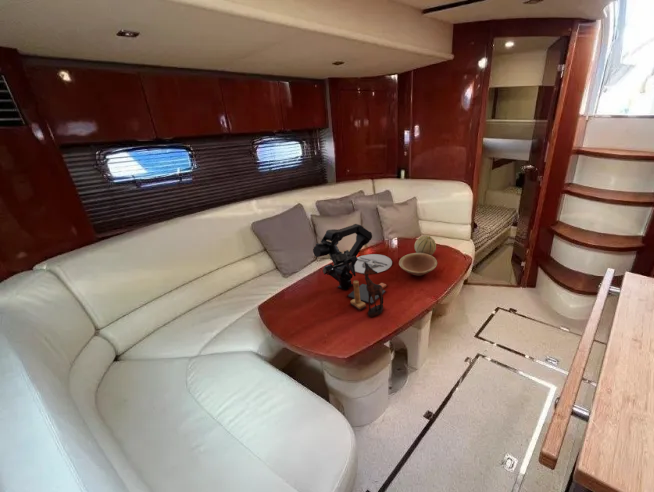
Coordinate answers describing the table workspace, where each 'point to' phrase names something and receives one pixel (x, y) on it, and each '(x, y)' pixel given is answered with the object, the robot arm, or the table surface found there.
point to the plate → (373, 263)
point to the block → (383, 285)
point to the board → (365, 294)
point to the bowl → (418, 263)
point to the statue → (373, 292)
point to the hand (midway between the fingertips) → (347, 279)
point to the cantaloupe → (425, 245)
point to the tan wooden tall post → (357, 297)
